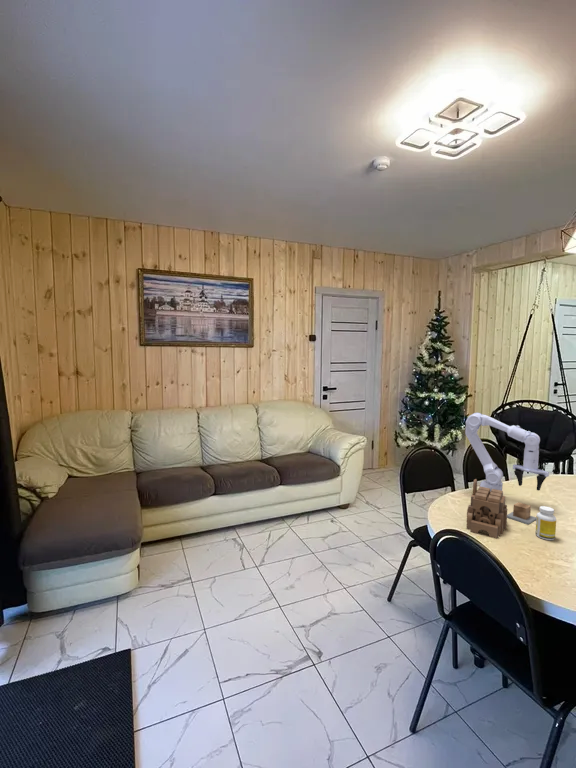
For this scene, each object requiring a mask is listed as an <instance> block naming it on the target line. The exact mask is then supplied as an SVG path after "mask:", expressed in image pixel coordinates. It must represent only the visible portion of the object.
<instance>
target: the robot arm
mask: <svg viewBox="0 0 576 768" xmlns="http://www.w3.org/2000/svg"><path fill="white" fill-rule="evenodd" d="M484 426H490V427H492V428H495V429H498V430H500V431H502V432H505V433H506V434H507V436H508V437H510V438H512V439H514V440H516V441H518V442H521V443H524V445H525V447H524V448H523V450H524V451H523V465H521V464H513V465H512V470H513V473H514V475H515V477H516V479H517V484H518V486H519V487H521V486H522V485H523V476H524V472H527V473H531V474H534V475H536V491H537V492H538V491H541V488H542V485H543V484H544V482H545V480H546V478H547V477H550V471H546V470H543V469H540V468H539V458H540V456H539V455H540V450H539V449H540V442H541V437H540V436H539V435H538V434H537V433H535V432H531V431H530V430H528V431H527V430H525V429H523V428H522V427H521V426H520V425H518V424H517V425H514V424H513V425H508V424H506V423H504V422H501V421H500V420H497V419H496V418H493V417H491V416H489V415H487V414H482V413H481V412H473V413H472V414H470V415H468V417H467V418H466V421H465V429H464V430H465V436H466V437H467V440H468V441H469V443H470V444H471V447H472V449H473V450H474V452H475V454H476V456H477V458H478V459H479V461H480V463H481V465H482V467H483V472H484V475H485V479H486V480H482V481H481V482H480V483H479V484H480V485H479V487H486V488H490V492H491V490H492V489H496V490H501V491H503V484H504V483H503V482H502V479H503V477H504V472H503V471H502V469H501V468H499V467H498V465H497V464H496V463H495V462H494V461H493V459H492V457H491V456H490V454H489V452H488V451H487V449H486V447H485V445H484V443H483V441H482V440H481V438H480V436H479V434H478V431H479V429H480V427H484Z"/></svg>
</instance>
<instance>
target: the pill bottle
mask: <svg viewBox="0 0 576 768" xmlns="http://www.w3.org/2000/svg"><path fill="white" fill-rule="evenodd" d="M554 514H555V509H554V508H553V507H550V506H544V505H541V506H539V512H537V513H536V516H535V517H536V520H535V535H536V536H537V537H538V538H540V539H542V540H545V541H554V540H555V539H556V532H557V531H556V530H557V517H556V516H555V515H554Z"/></svg>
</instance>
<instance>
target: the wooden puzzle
mask: <svg viewBox="0 0 576 768" xmlns="http://www.w3.org/2000/svg"><path fill="white" fill-rule="evenodd" d="M506 497H507V496H506V495H504V491H503V490H502V491H501V490H496V489H492V490H491V492H490V488H486V487H480V486H479V487H478V479H477V478H475V479H473V483H472V494H471V496H470V504H468V506H467V510H466V529H467V530H470V533H475V534H478V533H479V532H485V533H487V534H488V536H489V537H490V538H495V539H498V537H500V536H501V535H503V532H504V530H505V531H506V530H507V526H508V525H507V524H508V523H507V522H508V518H507V515H508V506H507V505H508V504H506Z"/></svg>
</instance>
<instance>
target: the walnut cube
mask: <svg viewBox="0 0 576 768" xmlns="http://www.w3.org/2000/svg"><path fill="white" fill-rule="evenodd" d="M531 511H532V505H529V504H525V503H523V502H519V501H518V502H516V503H514V504H513V511H512V512H513V516H515V517H518V518H521V519H525V520H526V519H528V518H529V517H530V516H531Z"/></svg>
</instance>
